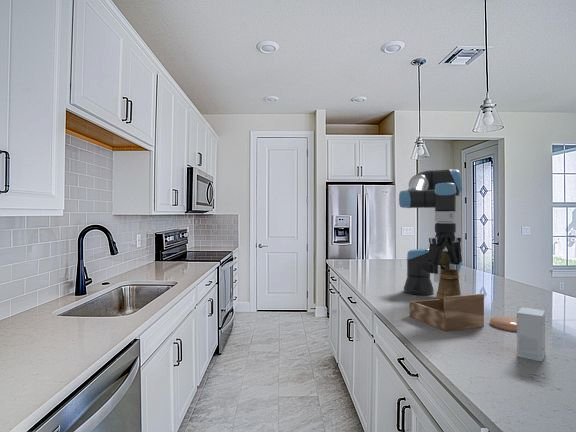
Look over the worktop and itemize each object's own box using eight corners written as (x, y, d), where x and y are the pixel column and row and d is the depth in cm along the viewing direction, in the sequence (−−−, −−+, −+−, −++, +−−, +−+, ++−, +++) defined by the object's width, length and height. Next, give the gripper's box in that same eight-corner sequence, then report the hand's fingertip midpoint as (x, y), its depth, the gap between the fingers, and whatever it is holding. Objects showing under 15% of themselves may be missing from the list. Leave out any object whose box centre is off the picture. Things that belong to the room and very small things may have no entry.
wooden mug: (448, 293, 149) (449, 249, 149) (466, 301, 136) (467, 253, 136) (427, 293, 149) (427, 249, 149) (443, 301, 135) (443, 253, 135)
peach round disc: (481, 322, 140) (481, 318, 140) (508, 319, 144) (508, 315, 144) (514, 333, 127) (514, 329, 127) (543, 329, 131) (543, 325, 131)
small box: (520, 348, 112) (520, 306, 112) (545, 353, 108) (545, 310, 108) (516, 356, 106) (516, 312, 106) (542, 362, 102) (542, 316, 102)
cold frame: (409, 316, 149) (409, 286, 149) (443, 312, 154) (444, 284, 154) (446, 331, 129) (446, 297, 129) (483, 326, 135) (483, 294, 135)
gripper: (431, 223, 135) (430, 284, 135) (472, 222, 141) (472, 281, 142) (417, 222, 142) (417, 281, 142) (458, 222, 148) (457, 278, 149)
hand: (445, 281), depth 142 cm, fingers closed on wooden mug, 7 cm apart
